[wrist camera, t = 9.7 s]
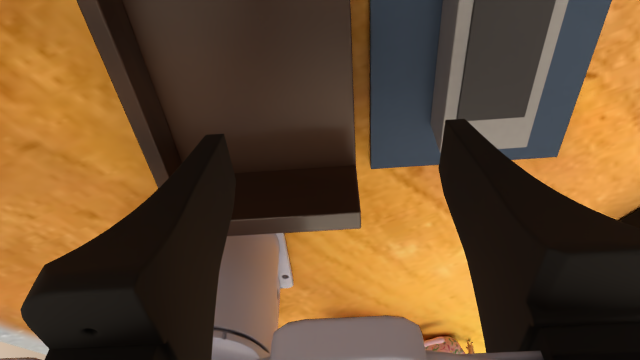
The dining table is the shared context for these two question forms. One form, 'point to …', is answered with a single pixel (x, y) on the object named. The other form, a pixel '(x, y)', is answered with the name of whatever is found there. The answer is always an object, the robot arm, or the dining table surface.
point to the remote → (494, 65)
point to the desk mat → (419, 77)
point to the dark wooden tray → (242, 99)
